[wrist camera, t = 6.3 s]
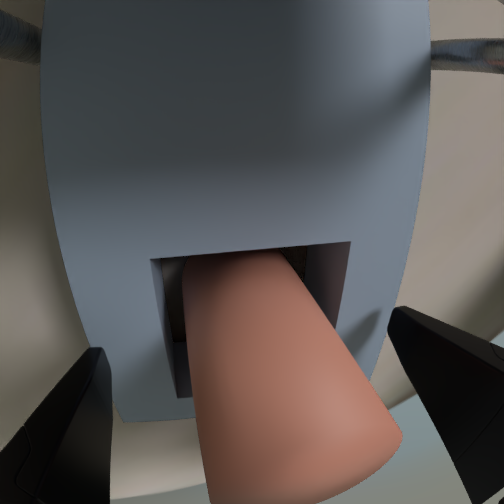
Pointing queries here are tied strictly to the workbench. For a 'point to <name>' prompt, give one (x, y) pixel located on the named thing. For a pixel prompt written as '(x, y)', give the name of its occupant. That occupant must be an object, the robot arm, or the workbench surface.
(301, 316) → the peg
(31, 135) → the workbench surface
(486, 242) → the workbench surface
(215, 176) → the socket board
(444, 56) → the awning
